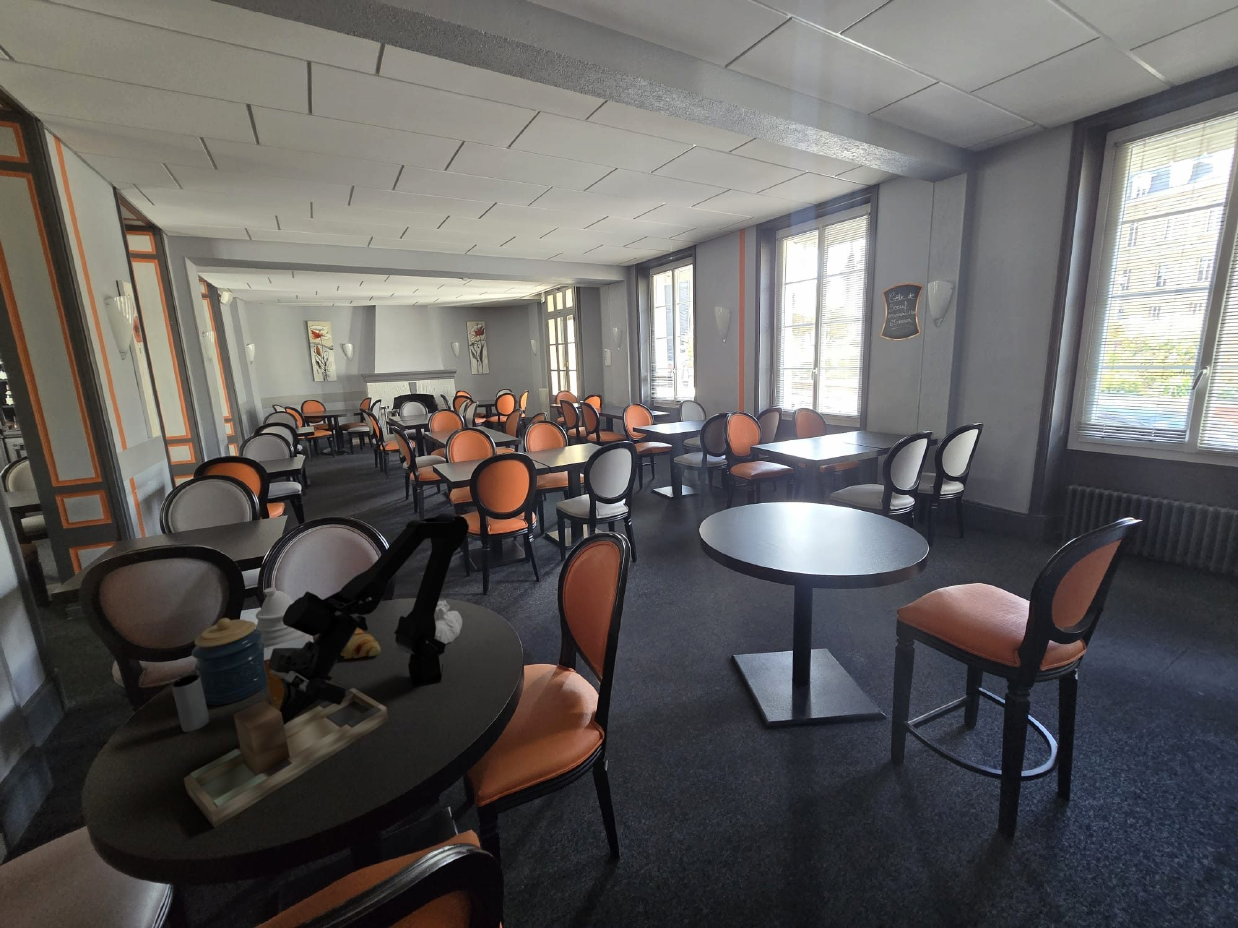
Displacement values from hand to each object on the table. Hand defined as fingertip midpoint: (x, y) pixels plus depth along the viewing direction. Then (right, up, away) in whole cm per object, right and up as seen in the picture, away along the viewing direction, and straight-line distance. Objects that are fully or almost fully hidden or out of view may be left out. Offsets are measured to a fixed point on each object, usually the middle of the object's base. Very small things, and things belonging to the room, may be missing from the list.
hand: (278, 725), depth 97 cm
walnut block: (-1, -6, -1) cm, 6 cm away
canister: (-26, -4, +25) cm, 36 cm away
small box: (-9, -4, +19) cm, 22 cm away
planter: (-26, -7, +13) cm, 30 cm away
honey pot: (-25, -1, +42) cm, 49 cm away
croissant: (-8, -1, +39) cm, 40 cm away
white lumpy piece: (+17, +2, +44) cm, 47 cm away
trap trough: (+1, -7, +3) cm, 8 cm away
